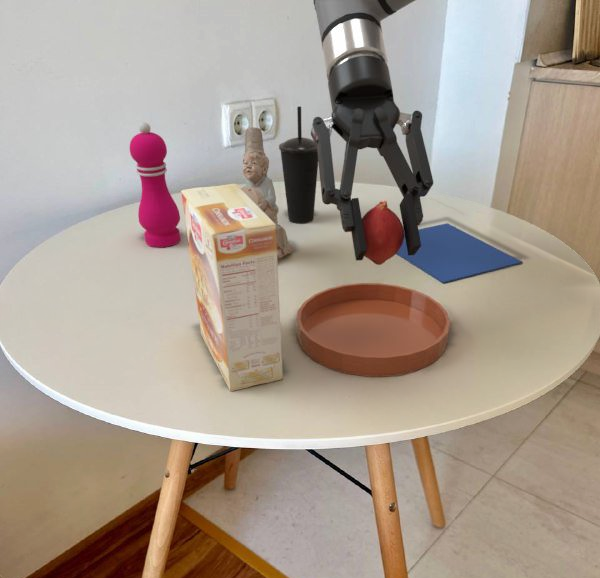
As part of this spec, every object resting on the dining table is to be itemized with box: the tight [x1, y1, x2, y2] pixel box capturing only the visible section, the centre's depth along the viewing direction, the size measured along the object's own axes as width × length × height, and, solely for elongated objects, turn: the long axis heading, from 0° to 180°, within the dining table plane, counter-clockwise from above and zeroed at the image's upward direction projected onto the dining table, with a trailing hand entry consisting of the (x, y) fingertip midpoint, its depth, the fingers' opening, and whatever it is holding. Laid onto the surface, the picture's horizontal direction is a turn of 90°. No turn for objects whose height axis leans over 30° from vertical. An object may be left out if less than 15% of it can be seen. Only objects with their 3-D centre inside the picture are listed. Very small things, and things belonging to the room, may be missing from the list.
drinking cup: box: [278, 106, 319, 224], centre depth 109 cm, size 8×8×20 cm
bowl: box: [296, 282, 451, 377], centre depth 79 cm, size 20×20×3 cm
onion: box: [362, 199, 404, 266], centre depth 71 cm, size 6×6×8 cm
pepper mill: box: [129, 122, 181, 248], centre depth 102 cm, size 7×7×20 cm
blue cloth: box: [395, 222, 524, 284], centre depth 102 cm, size 20×16×1 cm
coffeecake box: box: [180, 183, 284, 392], centre depth 70 cm, size 15×7×20 cm, turn 21°
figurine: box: [240, 127, 293, 260], centre depth 96 cm, size 9×8×20 cm
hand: (388, 252), depth 69 cm, fingers closed on onion, 6 cm apart
